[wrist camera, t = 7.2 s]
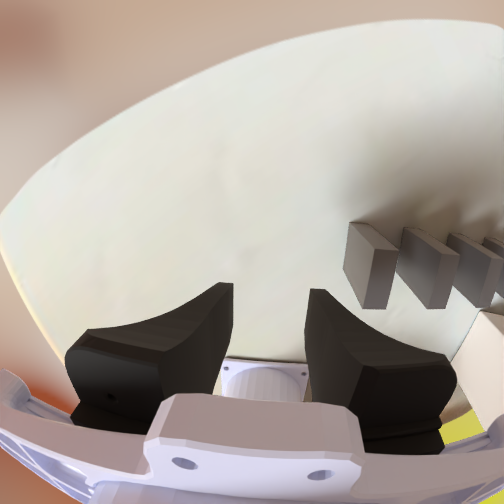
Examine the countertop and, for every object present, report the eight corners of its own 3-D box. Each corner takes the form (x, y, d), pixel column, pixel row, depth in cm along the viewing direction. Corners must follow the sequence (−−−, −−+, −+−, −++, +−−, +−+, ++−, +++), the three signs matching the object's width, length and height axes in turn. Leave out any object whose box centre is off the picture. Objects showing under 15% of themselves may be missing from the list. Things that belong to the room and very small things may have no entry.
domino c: (452, 274, 20) (489, 307, 14) (439, 273, 20) (476, 307, 14) (461, 234, 19) (504, 259, 13) (449, 232, 19) (491, 258, 13)
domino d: (485, 275, 20) (521, 305, 14) (475, 275, 20) (512, 305, 14) (494, 238, 18) (535, 262, 13) (484, 237, 19) (526, 261, 13)
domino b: (411, 272, 20) (445, 308, 15) (395, 271, 20) (426, 309, 15) (420, 229, 19) (460, 255, 13) (404, 227, 19) (442, 253, 14)
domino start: (361, 270, 21) (385, 309, 15) (342, 269, 21) (362, 309, 15) (368, 224, 19) (399, 250, 14) (349, 222, 20) (374, 248, 14)
